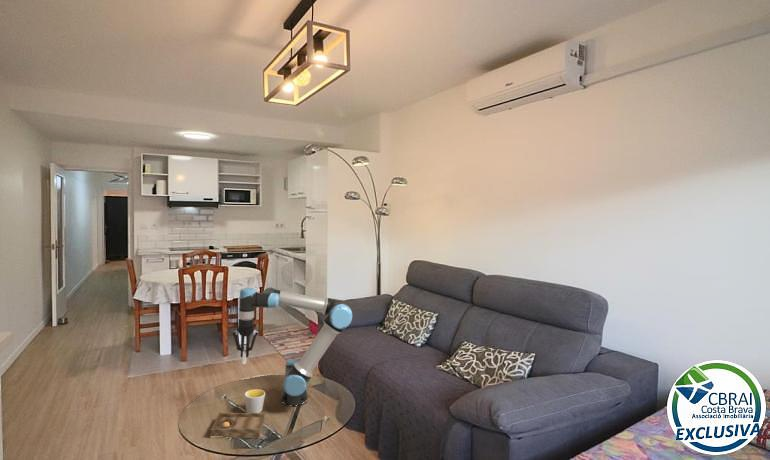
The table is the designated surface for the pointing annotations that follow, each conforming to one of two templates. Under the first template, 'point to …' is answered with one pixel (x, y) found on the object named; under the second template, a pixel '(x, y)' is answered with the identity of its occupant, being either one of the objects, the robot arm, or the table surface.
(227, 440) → the table surface
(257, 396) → the mug
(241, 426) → the board
